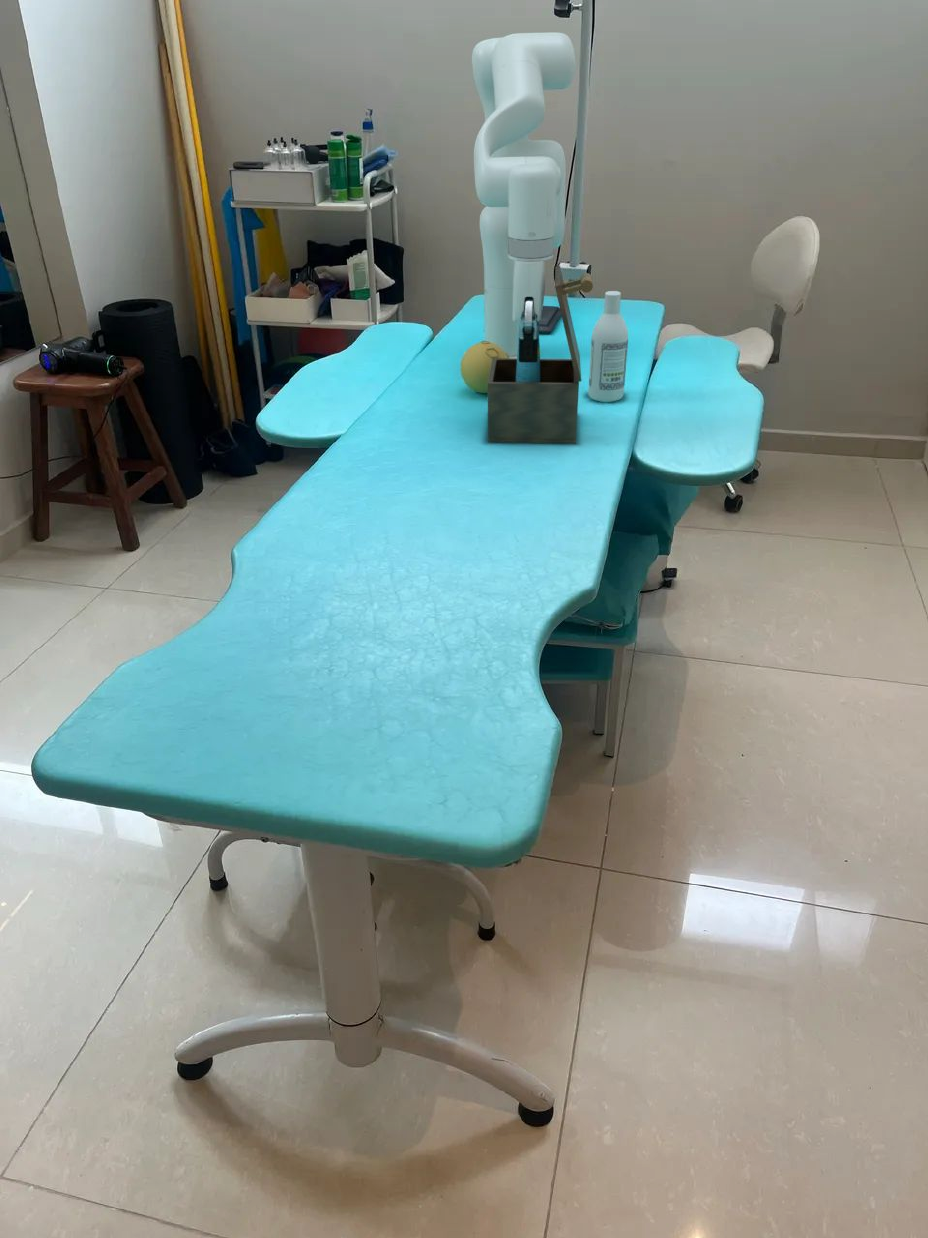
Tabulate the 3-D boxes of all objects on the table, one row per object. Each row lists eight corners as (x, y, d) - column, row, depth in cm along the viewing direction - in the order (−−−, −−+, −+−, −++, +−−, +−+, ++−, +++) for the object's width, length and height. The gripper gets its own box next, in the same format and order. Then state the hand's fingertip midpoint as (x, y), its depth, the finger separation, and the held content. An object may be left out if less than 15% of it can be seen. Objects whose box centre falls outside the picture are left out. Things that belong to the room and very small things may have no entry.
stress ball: (483, 404, 179) (483, 353, 174) (450, 391, 185) (449, 342, 180) (520, 391, 185) (521, 342, 179) (487, 379, 191) (487, 331, 185)
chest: (487, 442, 163) (487, 383, 157) (492, 414, 175) (492, 358, 169) (575, 443, 162) (578, 384, 156) (574, 415, 173) (577, 358, 167)
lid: (554, 286, 148) (590, 276, 146) (555, 266, 159) (588, 257, 157) (576, 382, 156) (610, 373, 155) (575, 356, 167) (607, 348, 166)
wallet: (549, 326, 215) (487, 322, 219) (549, 334, 216) (487, 330, 220) (566, 304, 231) (507, 300, 235) (565, 311, 232) (507, 308, 236)
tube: (548, 427, 166) (552, 319, 155) (524, 432, 164) (527, 323, 154) (528, 414, 172) (530, 309, 161) (505, 418, 170) (506, 313, 159)
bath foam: (630, 396, 181) (639, 292, 170) (606, 405, 177) (614, 299, 166) (605, 387, 185) (612, 285, 174) (580, 396, 182) (586, 292, 171)
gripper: (510, 236, 159) (509, 340, 169) (505, 259, 144) (504, 371, 154) (554, 236, 158) (550, 340, 168) (553, 259, 144) (549, 371, 154)
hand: (528, 354), depth 161 cm, fingers closed on tube, 6 cm apart
